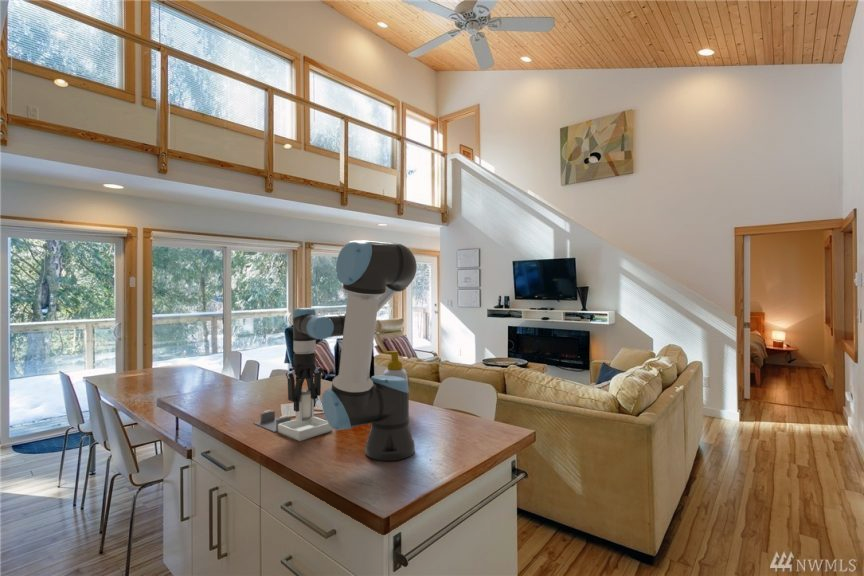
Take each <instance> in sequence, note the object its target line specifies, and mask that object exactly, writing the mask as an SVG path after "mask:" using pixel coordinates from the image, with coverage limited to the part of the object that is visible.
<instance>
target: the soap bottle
mask: <svg viewBox="0 0 864 576" xmlns="http://www.w3.org/2000/svg"><path fill="white" fill-rule="evenodd" d="M385 354H386V355H390V357H391V358H390V359H391V360H389V361H388V363H387V368H386V369H385V370H384V371H383V374H382V375H386V376H396V377H401V378H404V379H406V380H407V370H406V369H405V368H403V363H402V361H401V360H399V351H398V350H391V351H390V350H389V351H385Z"/></svg>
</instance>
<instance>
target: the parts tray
mask: <svg viewBox="0 0 864 576" xmlns="http://www.w3.org/2000/svg"><path fill="white" fill-rule="evenodd" d="M329 432H333V428H332V427H331V426H330V425H329V423H328V422H327V420H325V419H323V418H320V417H317V416H314V418H311V420H308V421H298V420H296V418H295V419H291V421H288V422H284V423H280V424H278V432H277V434H278V433H279V434H281V435H282V436H286V437H287V438H290V439H293V440H295V441H298V442H301V441H304V440H308V439H310V438H313V437H317V436H320V435H324V434H326V433H329Z"/></svg>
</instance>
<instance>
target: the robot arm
mask: <svg viewBox="0 0 864 576" xmlns="http://www.w3.org/2000/svg"><path fill="white" fill-rule="evenodd" d="M417 266H418V265H417V261H416V257H415V255H414V253H413V252H412V251H411V249H410V248H408V247H407V246H405V245H404V244H401V243H397V242H383V241H373V240H372V241H371V240H364V239H362V240H351V241H348V242H347V243H346V244H344V246H343V247H342V248H341V249H340V251H339V253H338V255H337V259H336V265H335V272H336V277H337V279H338V281H339V282H340V284H342V290H343V291H345V293H346V294H347V299H346V305H345V313H339V314H338V313H336V314H319V315H317V314H316V310H315V308H314V307H298V308H295V309H294V310H293V311H292V312H293V315H292V329H293V330H292V331H293V334H292V335H293V346H292V347H293V352H294V353H293V355H292V356H293V360H292V361H293V363H292V364H293V368H292V370H291V371H289V372H286V373H285V377H286V379H287V399H288V401H290V402H293V411H294V412H295V419H296V420H298V421H302V402H300V397H301V391H302V390H303V385H304V384H303V383H304V382H305V381H306V385H307V389H309V390H311V418H314V417H315V407H316V400H317V399H318V398H319V396H322V397H321V403H322V404H321V406H322V411H323V414H324V417H325V419H326V421H327V422H328V423H329V425H330V426H331V427H332V430H335V431H341V430H343V431H344V430H350V429H352V428H356V427H359V426H360V427H361V426H363V425H368V424H371V425H370V430H369V434H368V439H367V441H366V444H365V454H366V456H367V457H369V458H370V459H373V460H378V461H398V460H399V461H400V460H402V459H406V458H409V457H410V456H413V454H414V453H415V450H416V449H415V448H416V445H415V440H414V439H413V435H412V431H411V428H410V421H409V420H410V419H409V417H410V416H409V415H410V414H409V413H410V412H409V410H410V406H409V401H410V400H409V399H410V398H409V397H410V396H409V395H410V389H409V383H408V380H407V378H406V379H404V378H401V377H396V376H386V375H383V374H381V375H378V374H377V375H372V376H371V377H370V372H371V363H372V356H373V346H374V339H375V333H376V325H377V316H378V312H379V311H380V310H381V309H382V308H384V307H385V305H386V304H387V303H388V302H389V301H390V300H391V299H392V298H393V297H394V296H395V295H396V294H397V293H400V292H403V291H404V290H406V289H407V288H408V286H410V284H411V283H412V282H413V280H414V279H415V277H416V275H417V268H418V267H417ZM331 337H332V338H333V337H342V341H341V342H342V343H341V350H340V360H339V366H338V367H339V369H338V375H336V376H334V378H332V383H331V388H327V389H326V390H325V391H323V393H322V395H321V391H322V390H321V388H322V387H321V386H322V373H323V368H322V367H318V366H317V364H316V362H317V361H316V360H317V358H316V352H315V351H316V350H317V349H316V346H317V345H316V344H317V343H316V342H317V341H316V340H325V339H327V338H331Z"/></svg>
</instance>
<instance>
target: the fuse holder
mask: <svg viewBox="0 0 864 576" xmlns="http://www.w3.org/2000/svg"><path fill="white" fill-rule="evenodd" d="M275 411H276V410H272V409H268V410H264V411H263V412H262V413H260V421H254V422H253V424H254V425H256V426H258V427H260V428H263V429H266V430H268V431H269V432H272V433H278V424H280V423H284V422H288V421H291V420H292V419H291V416H289V415H287V414H285V415H283V416H279V417H277V416H276V415H275V413H276V412H275Z"/></svg>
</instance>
